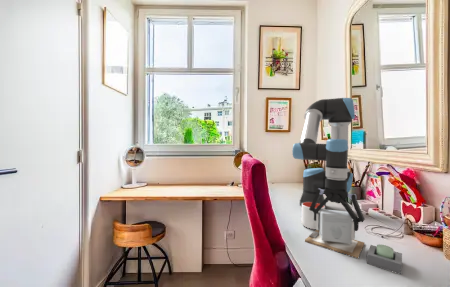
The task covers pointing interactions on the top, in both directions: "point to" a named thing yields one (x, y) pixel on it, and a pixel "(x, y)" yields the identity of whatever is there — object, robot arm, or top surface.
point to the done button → (385, 251)
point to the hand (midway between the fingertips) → (334, 233)
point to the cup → (308, 215)
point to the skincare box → (335, 226)
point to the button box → (385, 260)
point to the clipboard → (336, 245)
